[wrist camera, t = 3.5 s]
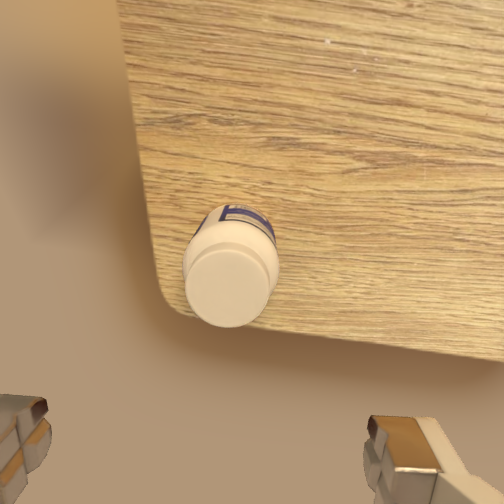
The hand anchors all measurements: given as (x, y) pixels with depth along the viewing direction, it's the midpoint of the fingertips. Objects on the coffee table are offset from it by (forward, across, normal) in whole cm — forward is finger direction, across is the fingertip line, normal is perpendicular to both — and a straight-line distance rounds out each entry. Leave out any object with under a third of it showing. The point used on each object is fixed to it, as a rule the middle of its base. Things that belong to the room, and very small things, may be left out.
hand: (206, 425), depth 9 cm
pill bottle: (+17, 0, 0) cm, 17 cm away
